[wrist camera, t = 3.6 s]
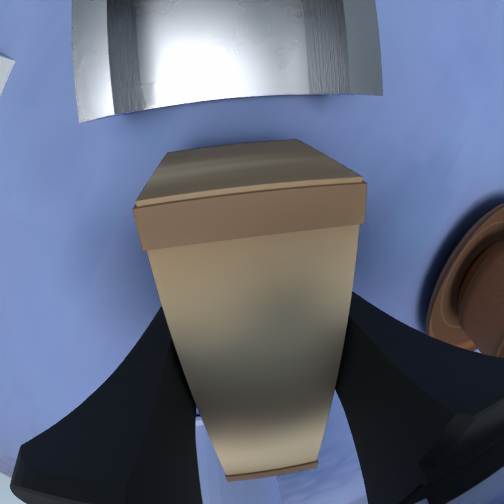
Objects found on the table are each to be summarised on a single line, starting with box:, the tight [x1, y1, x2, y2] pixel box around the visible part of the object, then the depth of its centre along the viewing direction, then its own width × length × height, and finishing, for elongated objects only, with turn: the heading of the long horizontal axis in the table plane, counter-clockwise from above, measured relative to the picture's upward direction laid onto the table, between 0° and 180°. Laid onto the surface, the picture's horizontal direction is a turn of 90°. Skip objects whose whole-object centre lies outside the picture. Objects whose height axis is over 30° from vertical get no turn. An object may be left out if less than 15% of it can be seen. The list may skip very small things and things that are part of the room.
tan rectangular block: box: [133, 139, 367, 482], centre depth 10 cm, size 13×4×5 cm, turn 4°
